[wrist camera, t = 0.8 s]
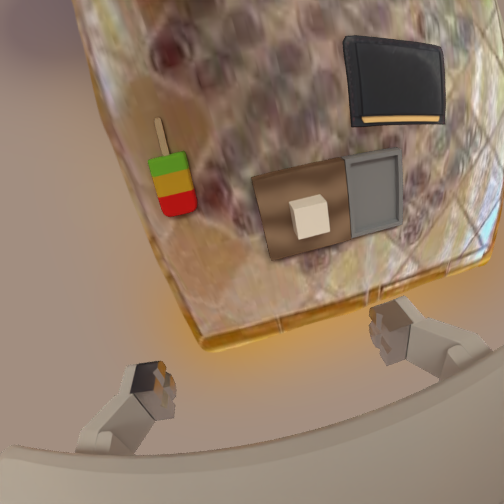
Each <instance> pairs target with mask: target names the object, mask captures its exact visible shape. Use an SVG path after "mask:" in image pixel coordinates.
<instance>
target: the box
mask: <svg viewBox="0 0 504 504" xmlns="http://www.w3.org/2000/svg"><path fill="white" fill-rule="evenodd" d="M341 159H342V160H344V163H345V172H346V182H347V192H348V203H349V216H350V230H351V238H354V237H358V236H362V235H365V234H369V233H373V232H376V231H380V230H384V229H387V228H391V227H395V226H398V225H402V221H403V172H402V149H399V148H397V147H394V148H388V149H382V150H376V151H370V152H365V153H359V154H354V155H349V156H343V157H341Z"/></svg>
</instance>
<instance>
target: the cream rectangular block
mask: <svg viewBox="0 0 504 504" xmlns="http://www.w3.org/2000/svg"><path fill="white" fill-rule="evenodd" d="M289 206H290V212H291V217H292V222H293V228H294V232H295V233H296V235H297V237H298V239H299V240H300V239H304V238H307V237H311V236H315V235H319V234H323V233H327V232H330V225H329V216H328V207H327V201H326V200H325V199H324V198H323V197H322V196H321V195H320V194H319V195H315V196H311V197H306V198H302V199H298V200H294V201H290V202H289Z"/></svg>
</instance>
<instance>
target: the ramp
mask: <svg viewBox="0 0 504 504" xmlns="http://www.w3.org/2000/svg"><path fill="white" fill-rule="evenodd" d="M251 179H252V183H253V187H254V191H255V195H256V200H257V204H258V208H259V212H260V216H261V221H262V225H263V229H264V233H265V238H266V242H267V246H268V250H269V255H270V258H271V261H273V260H277V259H281V258H284V257H288V256H292V255H296V254H300V253H303V252H307V251H311V250H315V249H318V248H322V247H326V246H330V245H333V244H337V243H341V242H344V241H348V240H351V230H350V216H349V203H348V192H347V182H346V172H345V163H344V160H342V159H341V158H339V157H338V158H333V159H328V160H324V161H319V162H314V163H309V164H305V165H300V166H296V167H291V168H287V169H283V170H278V171H274V172H270V173H266V174H262V175H258V176H254V177H251ZM319 194H320V195H321V196H322V197H323V198H324V199H325V200H326V201H327V207H328V216H329V225H330V232H327V233H323V234H319V235H315V236H311V237H307V238H304V239H300V240H299V239H298V237H297V235H296V233H295V232H294V228H293V222H292V217H291V212H290V206H289V202H290V201H294V200H298V199H302V198H306V197H311V196H315V195H319Z"/></svg>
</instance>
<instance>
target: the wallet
mask: <svg viewBox="0 0 504 504" xmlns="http://www.w3.org/2000/svg"><path fill="white" fill-rule="evenodd" d="M343 52H344V59H345V66H346V74H347V82H348V93H349V106H350V116H351V127H366V126H376V125H400V124H445V109H446V92H445V68H444V57H443V51H442V49H441V47H440V46H436V45H432V44H426V43H419V42H412V41H404V40H395V39H387V38H378V37H367V36H357V35H354V36H345V38H344V40H343Z"/></svg>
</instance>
